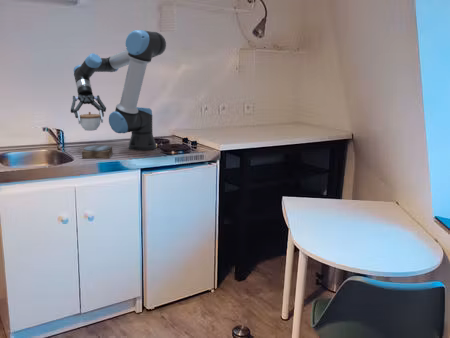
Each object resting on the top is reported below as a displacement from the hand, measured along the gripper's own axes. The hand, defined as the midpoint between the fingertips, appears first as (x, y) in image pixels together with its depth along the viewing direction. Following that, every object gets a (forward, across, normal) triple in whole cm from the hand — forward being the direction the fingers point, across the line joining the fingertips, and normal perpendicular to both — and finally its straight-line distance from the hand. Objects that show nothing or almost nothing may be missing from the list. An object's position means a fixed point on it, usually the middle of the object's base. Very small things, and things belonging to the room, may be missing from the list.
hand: (91, 121), depth 216 cm
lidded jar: (+1, 0, -6) cm, 6 cm away
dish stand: (+17, -1, -6) cm, 18 cm away
